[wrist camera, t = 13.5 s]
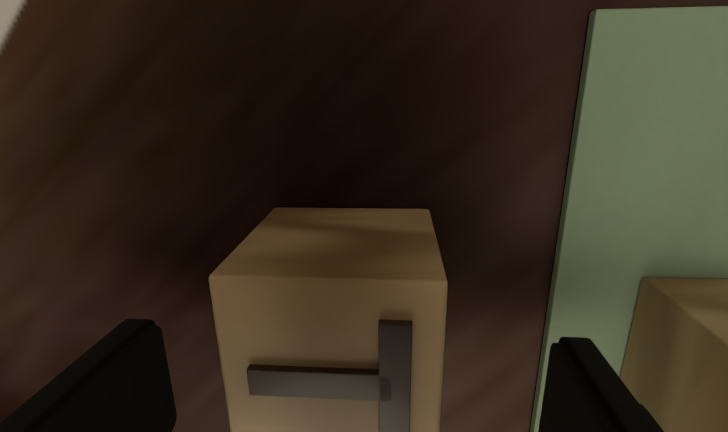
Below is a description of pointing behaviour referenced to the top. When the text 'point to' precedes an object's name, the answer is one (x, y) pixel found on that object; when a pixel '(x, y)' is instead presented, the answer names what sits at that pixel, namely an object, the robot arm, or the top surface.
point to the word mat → (640, 172)
